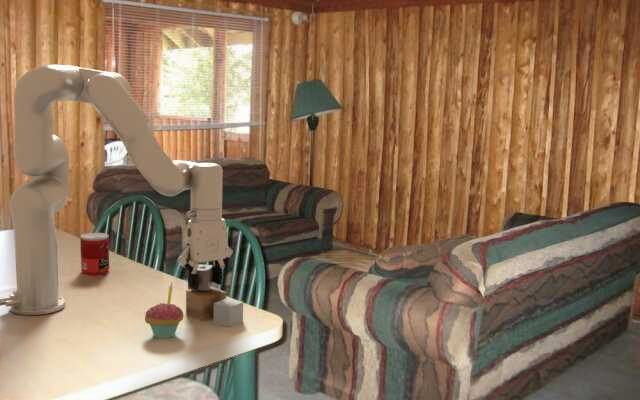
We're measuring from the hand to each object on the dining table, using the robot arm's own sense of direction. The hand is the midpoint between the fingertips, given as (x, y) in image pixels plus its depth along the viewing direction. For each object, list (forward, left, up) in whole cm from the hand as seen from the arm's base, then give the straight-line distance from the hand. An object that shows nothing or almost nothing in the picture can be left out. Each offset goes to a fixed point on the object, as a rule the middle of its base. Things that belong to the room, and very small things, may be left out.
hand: (205, 285), depth 171 cm
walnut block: (0, 0, -8) cm, 8 cm away
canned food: (-5, +50, -8) cm, 51 cm away
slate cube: (+1, -8, -7) cm, 11 cm away
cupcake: (-15, -6, -8) cm, 18 cm away
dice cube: (0, +2, -1) cm, 2 cm away
